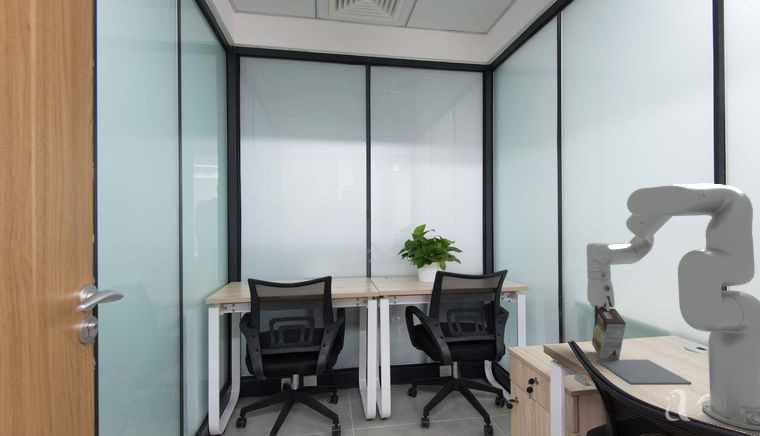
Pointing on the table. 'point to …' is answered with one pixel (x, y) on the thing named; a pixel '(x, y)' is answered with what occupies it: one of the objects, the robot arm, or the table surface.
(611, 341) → the coffee box
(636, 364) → the rubber mat
